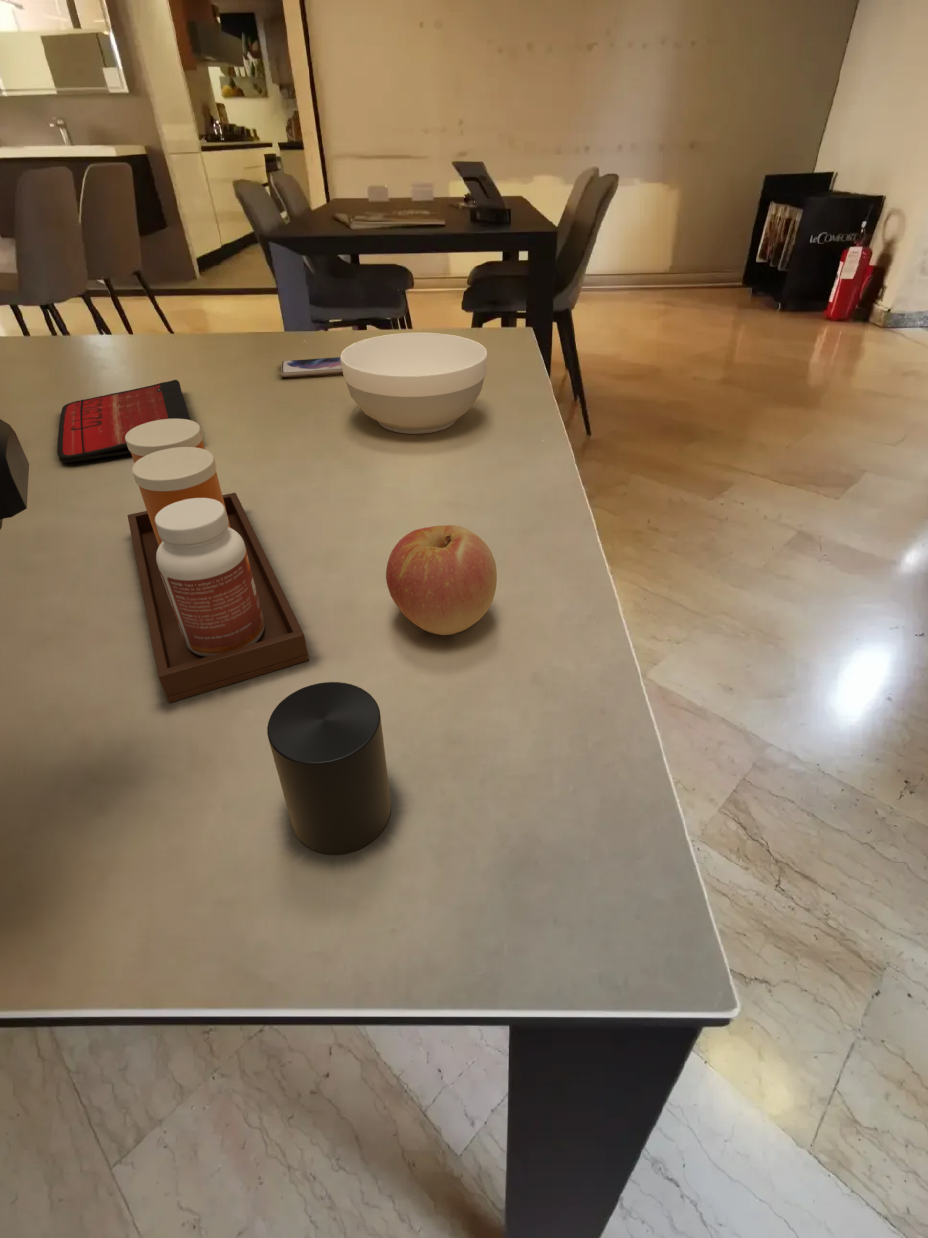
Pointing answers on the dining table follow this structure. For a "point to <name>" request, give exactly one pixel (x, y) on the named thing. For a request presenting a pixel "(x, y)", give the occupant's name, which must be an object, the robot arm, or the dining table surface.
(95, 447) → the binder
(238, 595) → the pill bottle
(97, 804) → the dining table surface
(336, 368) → the smartphone
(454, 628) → the apple
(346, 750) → the charcoal tin
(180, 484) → the bottle
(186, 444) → the bottle
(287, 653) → the walnut tray
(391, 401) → the bowl
